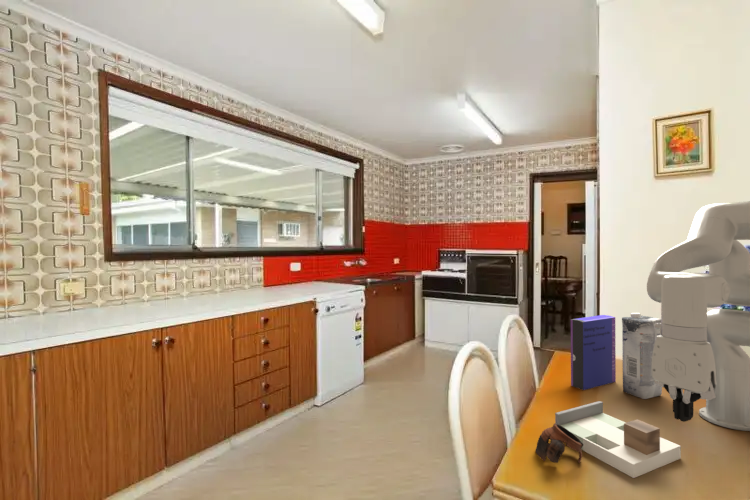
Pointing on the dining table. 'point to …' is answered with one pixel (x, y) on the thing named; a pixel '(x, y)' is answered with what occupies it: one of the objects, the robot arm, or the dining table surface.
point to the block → (642, 436)
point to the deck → (613, 440)
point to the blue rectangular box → (593, 351)
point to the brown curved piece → (557, 443)
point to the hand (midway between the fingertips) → (682, 419)
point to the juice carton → (639, 355)
